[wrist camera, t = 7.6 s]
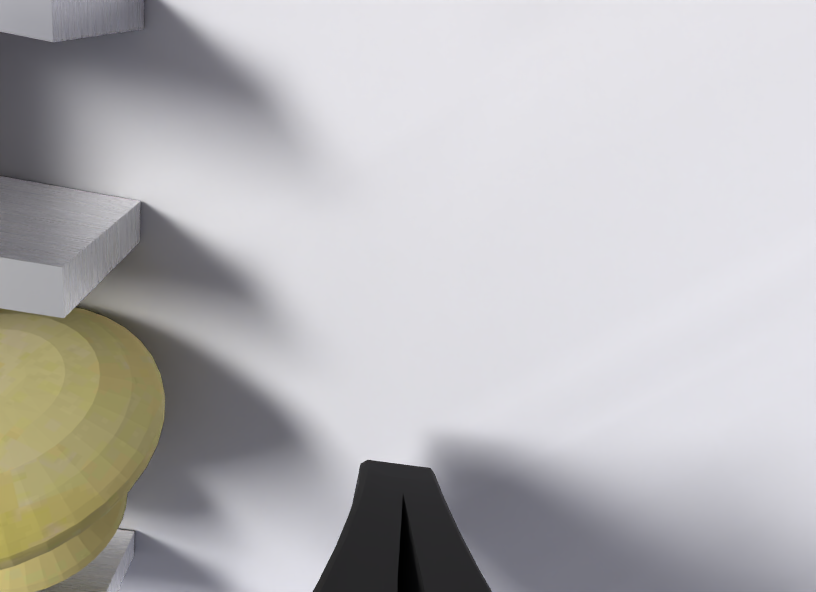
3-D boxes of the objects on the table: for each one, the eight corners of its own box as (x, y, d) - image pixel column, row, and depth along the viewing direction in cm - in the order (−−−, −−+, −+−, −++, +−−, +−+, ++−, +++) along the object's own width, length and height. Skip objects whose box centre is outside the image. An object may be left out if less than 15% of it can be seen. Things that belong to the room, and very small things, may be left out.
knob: (-80, 264, 12) (-371, 435, 7) (201, 307, 12) (93, 490, 8) (-49, 458, 14) (-262, 687, 9) (191, 488, 14) (101, 716, 10)
